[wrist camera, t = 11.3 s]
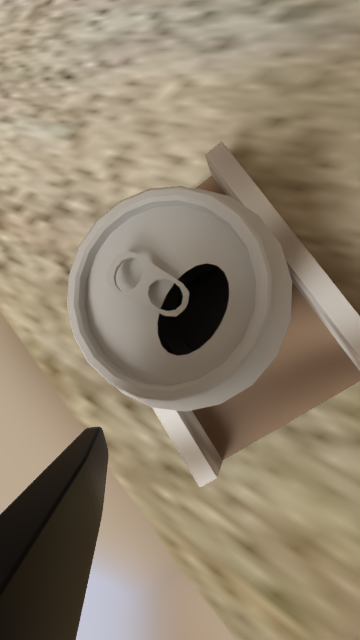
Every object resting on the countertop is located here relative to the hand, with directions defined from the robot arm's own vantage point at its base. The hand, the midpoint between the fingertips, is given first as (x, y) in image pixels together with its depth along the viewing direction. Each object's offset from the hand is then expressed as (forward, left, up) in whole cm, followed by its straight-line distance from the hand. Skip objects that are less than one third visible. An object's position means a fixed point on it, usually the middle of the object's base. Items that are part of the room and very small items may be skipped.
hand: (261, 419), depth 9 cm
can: (+5, 0, -11) cm, 12 cm away
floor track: (+5, 0, -12) cm, 13 cm away
